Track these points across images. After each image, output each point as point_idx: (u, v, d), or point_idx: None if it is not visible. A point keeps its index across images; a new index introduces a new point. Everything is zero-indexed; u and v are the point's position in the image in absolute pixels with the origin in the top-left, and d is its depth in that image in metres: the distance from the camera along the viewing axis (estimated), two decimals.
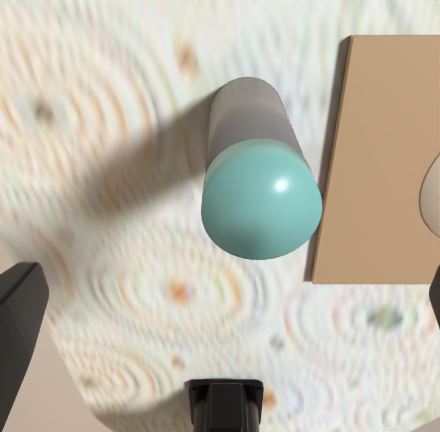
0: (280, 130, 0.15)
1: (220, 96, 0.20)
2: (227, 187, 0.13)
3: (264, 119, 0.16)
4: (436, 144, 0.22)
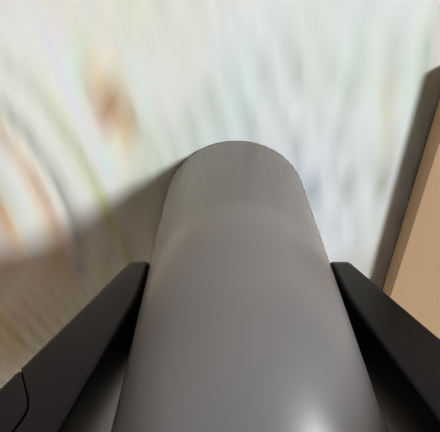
0: (325, 382, 0.05)
1: (179, 186, 0.10)
2: None
3: (275, 325, 0.05)
4: None
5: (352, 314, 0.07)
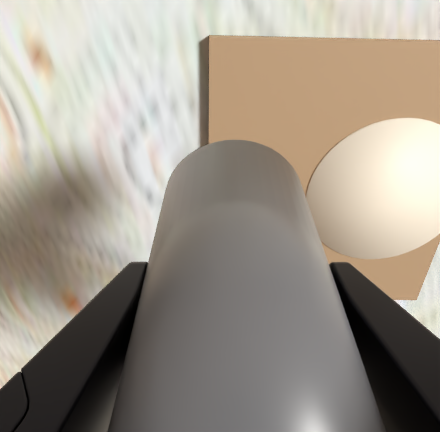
0: (322, 381, 0.05)
1: (177, 185, 0.10)
2: None
3: (272, 324, 0.05)
4: (314, 153, 0.21)
5: (352, 314, 0.07)
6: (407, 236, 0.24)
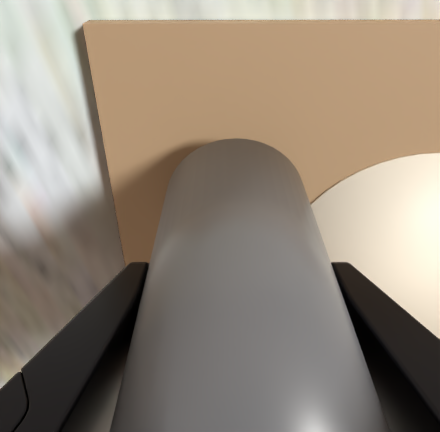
0: (326, 379, 0.05)
1: (178, 183, 0.10)
2: None
3: (275, 321, 0.05)
4: None
5: (352, 314, 0.07)
6: (433, 319, 0.16)
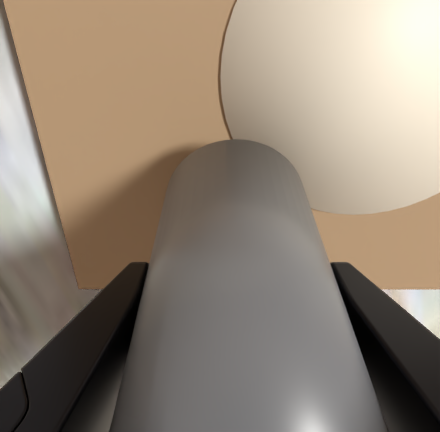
0: (325, 380, 0.05)
1: (178, 184, 0.10)
2: None
3: (275, 324, 0.05)
4: None
5: (352, 314, 0.07)
6: (424, 166, 0.13)
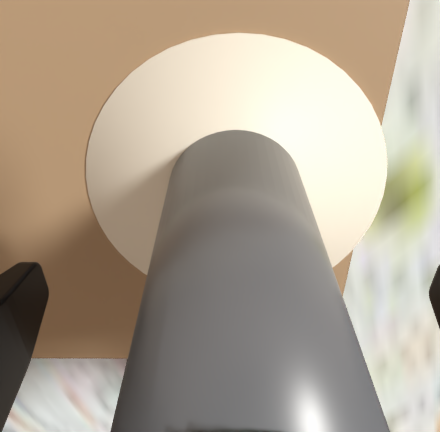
0: (315, 336, 0.05)
1: (181, 172, 0.10)
2: None
3: (271, 289, 0.06)
4: (74, 113, 0.11)
5: None
6: None
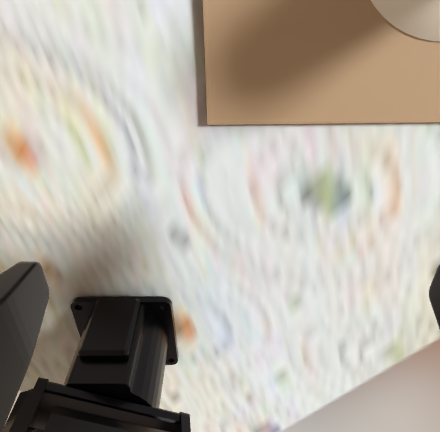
0: None
1: None
2: None
3: None
4: None
5: None
6: None
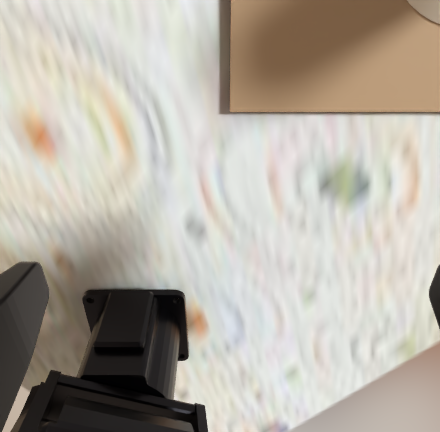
0: None
1: None
2: None
3: None
4: None
5: None
6: None
